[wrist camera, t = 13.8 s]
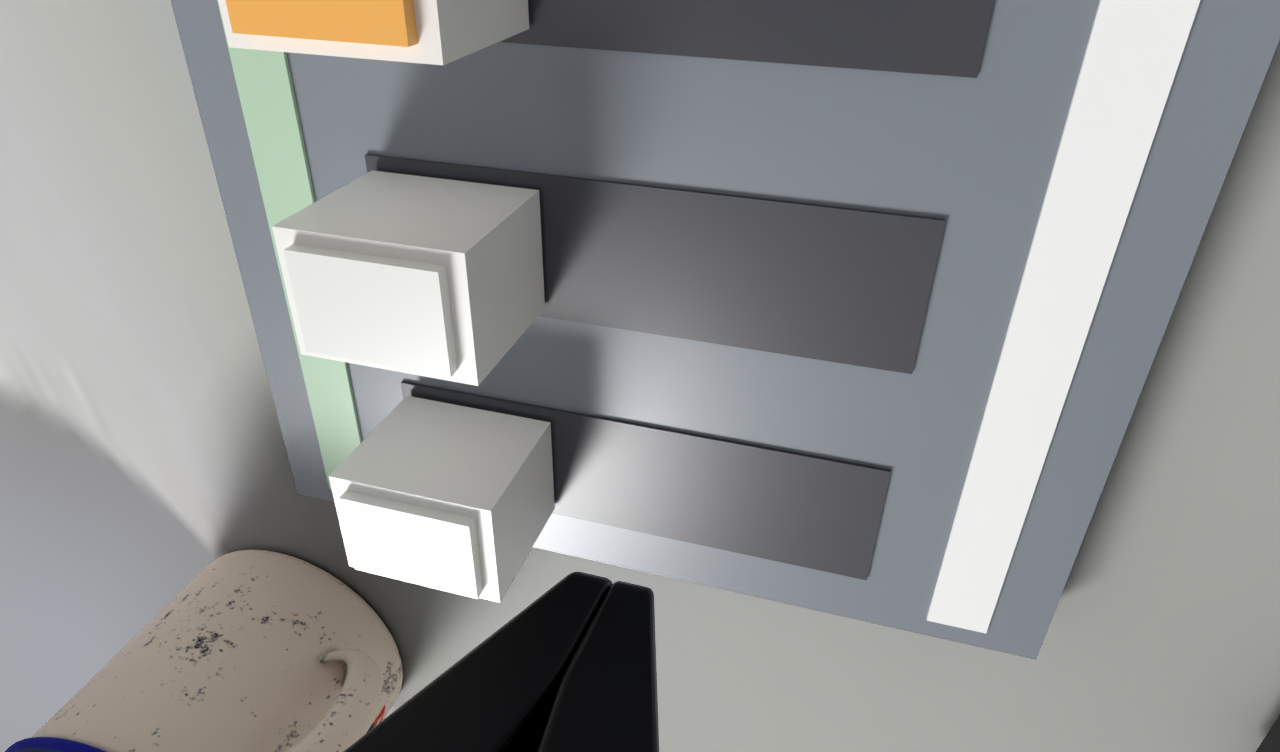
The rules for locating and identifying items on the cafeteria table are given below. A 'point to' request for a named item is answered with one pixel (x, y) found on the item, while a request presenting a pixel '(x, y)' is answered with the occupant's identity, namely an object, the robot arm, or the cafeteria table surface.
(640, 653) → the robot arm
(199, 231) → the cafeteria table surface
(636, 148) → the panel
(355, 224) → the block
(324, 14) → the block
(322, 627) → the teacup with lid
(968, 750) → the cafeteria table surface
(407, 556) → the block
